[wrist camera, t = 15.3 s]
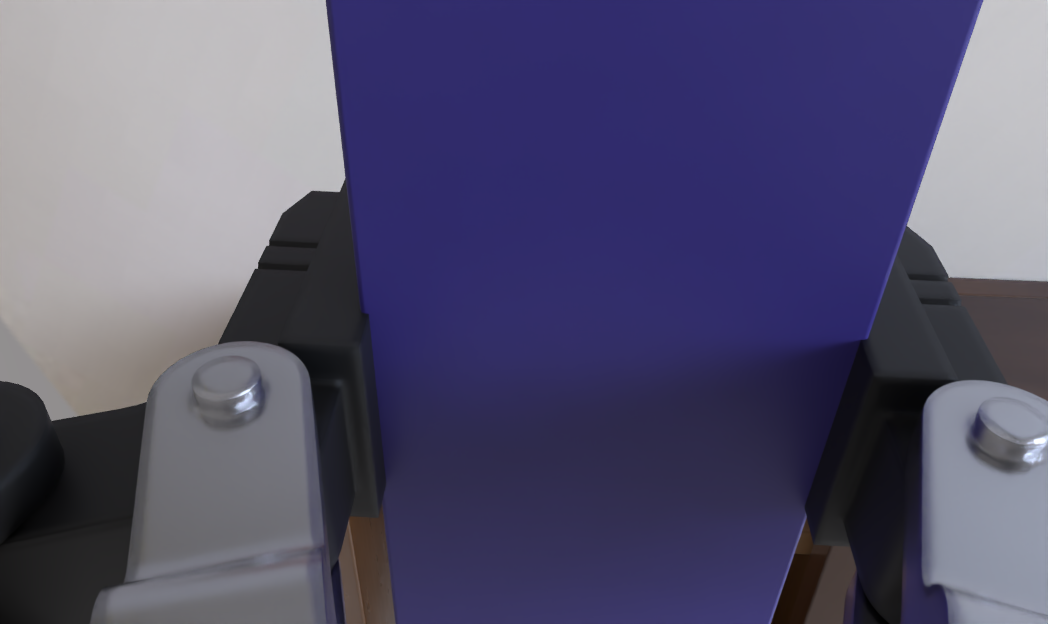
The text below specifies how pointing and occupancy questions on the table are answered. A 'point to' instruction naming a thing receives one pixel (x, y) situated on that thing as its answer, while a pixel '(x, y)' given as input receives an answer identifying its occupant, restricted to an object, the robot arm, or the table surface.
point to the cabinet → (1027, 363)
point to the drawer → (372, 581)
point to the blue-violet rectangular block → (622, 282)
